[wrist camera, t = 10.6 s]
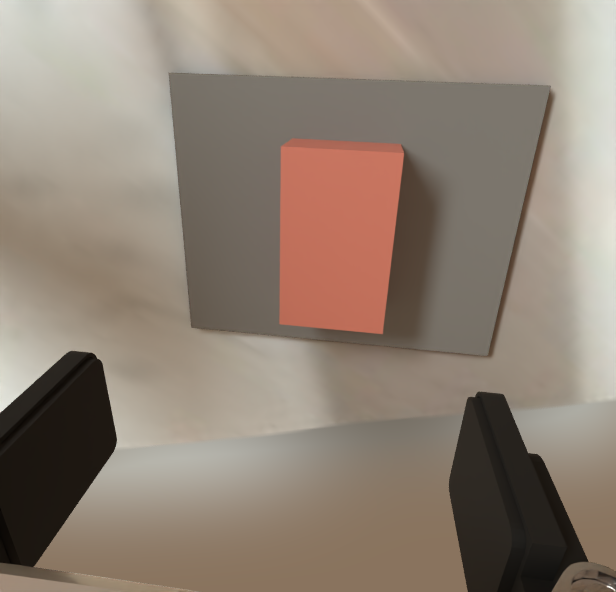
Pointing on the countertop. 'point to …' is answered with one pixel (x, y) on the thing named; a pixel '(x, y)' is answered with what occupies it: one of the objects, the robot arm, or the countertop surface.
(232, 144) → the mat
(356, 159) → the card box
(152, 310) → the countertop surface
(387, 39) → the countertop surface
